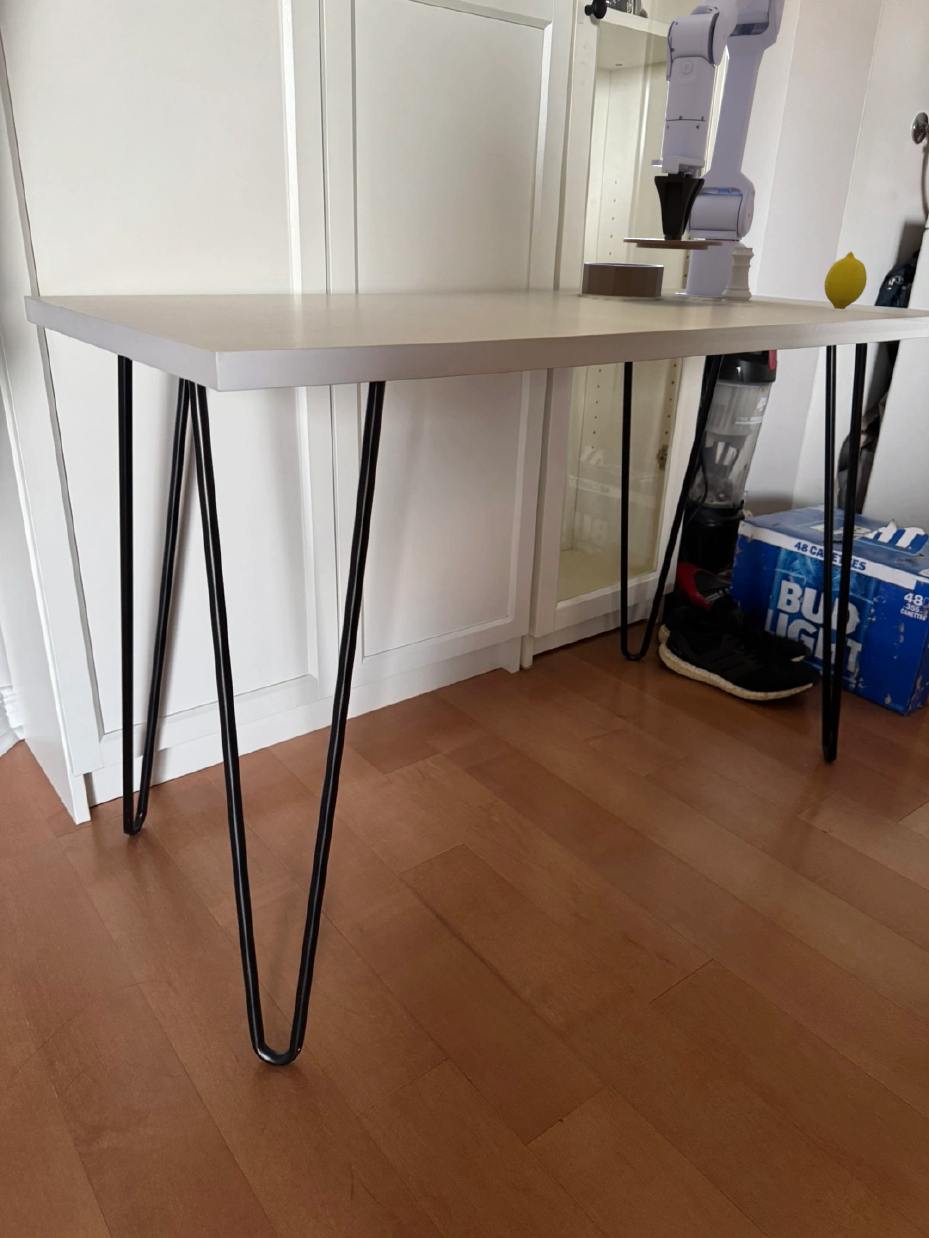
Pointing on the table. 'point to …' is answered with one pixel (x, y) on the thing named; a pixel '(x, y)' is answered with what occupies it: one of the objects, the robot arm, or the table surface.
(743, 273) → the rook chess piece
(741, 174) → the robot arm
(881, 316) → the table surface
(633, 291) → the tin
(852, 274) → the fruit
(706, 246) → the tin lid
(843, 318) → the table surface
